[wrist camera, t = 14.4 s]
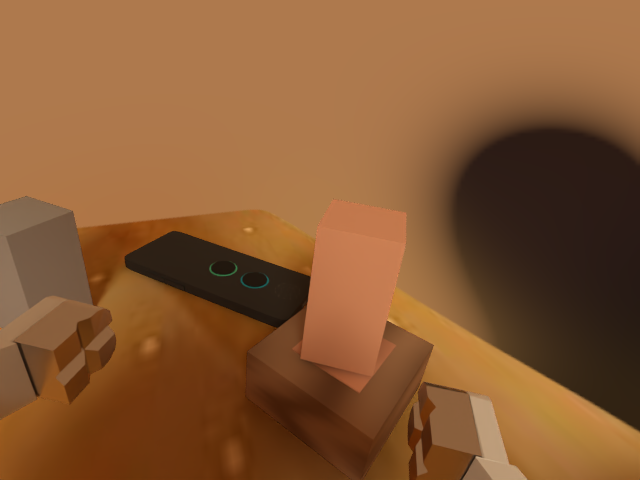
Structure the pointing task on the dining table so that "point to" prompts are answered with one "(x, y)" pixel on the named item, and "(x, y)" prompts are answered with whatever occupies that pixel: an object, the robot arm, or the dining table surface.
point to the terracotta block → (352, 285)
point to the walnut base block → (336, 393)
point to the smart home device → (223, 277)
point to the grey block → (38, 257)
